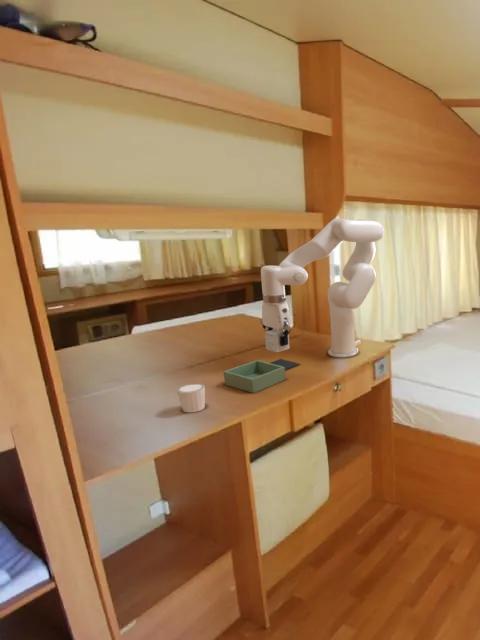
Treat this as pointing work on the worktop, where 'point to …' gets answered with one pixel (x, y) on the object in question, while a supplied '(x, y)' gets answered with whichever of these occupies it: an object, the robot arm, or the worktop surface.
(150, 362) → the worktop surface
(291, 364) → the mat
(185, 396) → the shot glass
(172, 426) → the worktop surface
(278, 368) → the green square tray
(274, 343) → the product box
